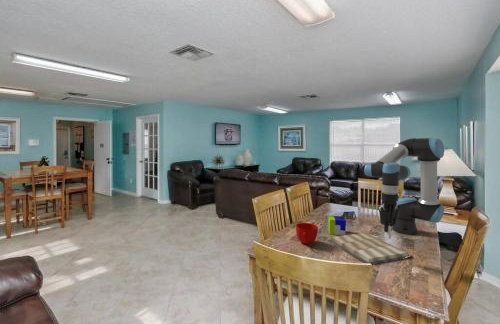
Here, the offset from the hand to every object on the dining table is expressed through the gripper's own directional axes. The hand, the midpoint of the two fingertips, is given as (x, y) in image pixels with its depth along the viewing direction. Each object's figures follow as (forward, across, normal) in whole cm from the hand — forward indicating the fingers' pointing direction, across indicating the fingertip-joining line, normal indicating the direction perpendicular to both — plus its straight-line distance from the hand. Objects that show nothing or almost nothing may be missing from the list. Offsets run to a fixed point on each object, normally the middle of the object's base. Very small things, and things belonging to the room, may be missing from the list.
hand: (387, 237), depth 132 cm
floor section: (+11, 0, +13) cm, 18 cm away
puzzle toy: (+12, 0, +41) cm, 43 cm away
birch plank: (+11, 0, +3) cm, 11 cm away
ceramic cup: (+11, -30, +30) cm, 44 cm away
